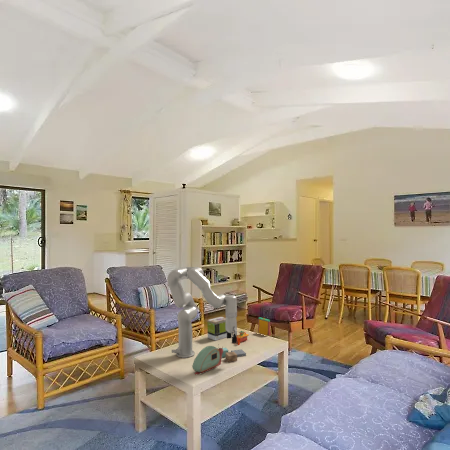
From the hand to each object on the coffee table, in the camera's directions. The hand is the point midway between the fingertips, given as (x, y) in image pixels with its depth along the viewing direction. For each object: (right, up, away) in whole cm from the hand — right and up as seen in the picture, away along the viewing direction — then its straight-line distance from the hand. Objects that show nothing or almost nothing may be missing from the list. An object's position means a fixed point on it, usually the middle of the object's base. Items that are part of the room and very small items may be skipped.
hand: (231, 340), depth 224 cm
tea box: (-10, -14, +48) cm, 51 cm away
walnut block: (0, -14, 0) cm, 14 cm away
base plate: (+5, -14, +9) cm, 17 cm away
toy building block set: (+16, -14, +44) cm, 49 cm away
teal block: (-5, -14, +8) cm, 17 cm away
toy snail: (-14, -14, -12) cm, 23 cm away
